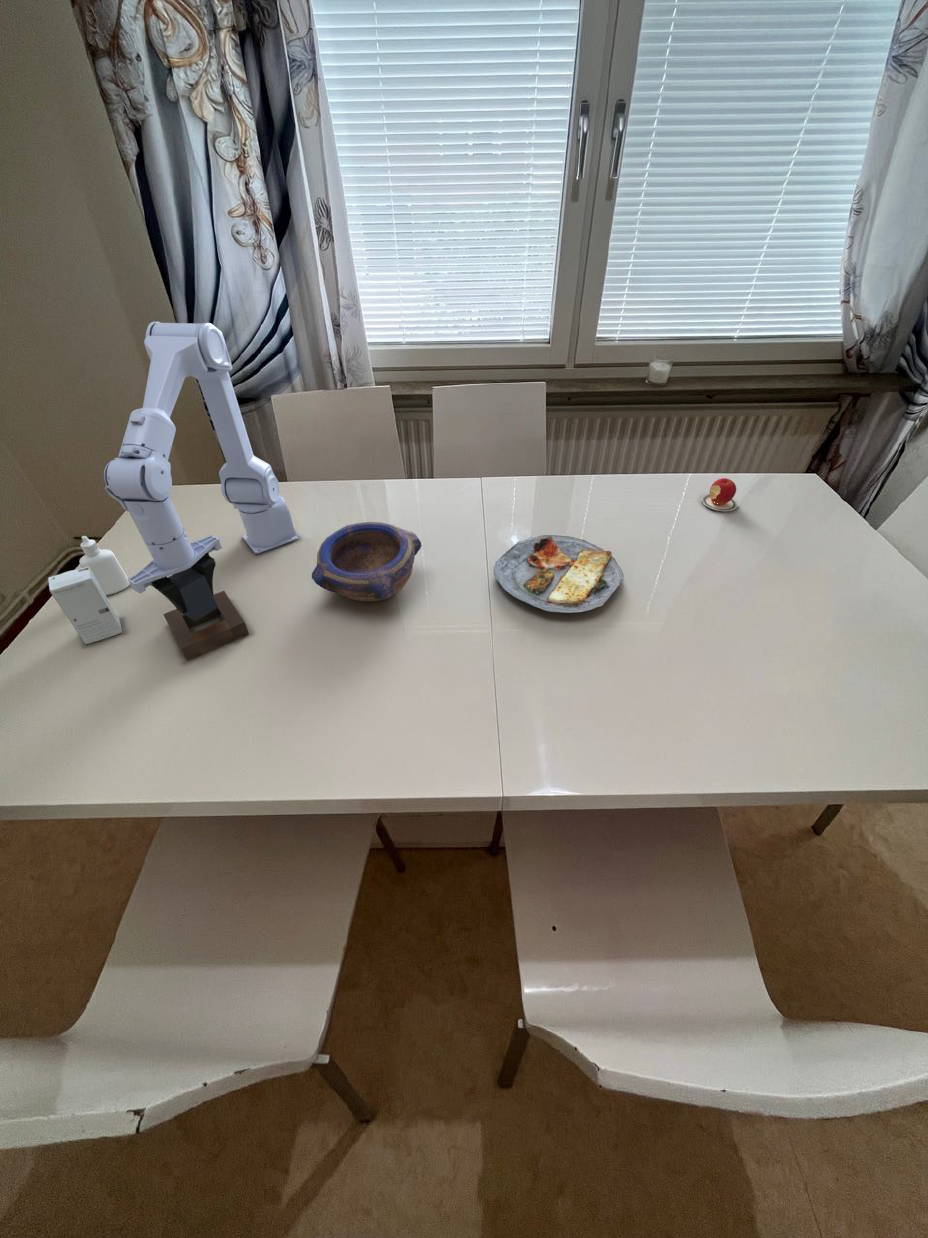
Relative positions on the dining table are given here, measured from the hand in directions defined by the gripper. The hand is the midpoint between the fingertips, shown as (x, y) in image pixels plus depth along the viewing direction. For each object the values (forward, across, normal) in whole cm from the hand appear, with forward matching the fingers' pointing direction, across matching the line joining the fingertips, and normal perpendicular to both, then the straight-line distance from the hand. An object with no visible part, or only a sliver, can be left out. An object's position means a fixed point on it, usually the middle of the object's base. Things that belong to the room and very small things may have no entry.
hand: (196, 602), depth 87 cm
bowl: (+7, -26, +16) cm, 31 cm away
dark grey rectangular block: (+2, 0, 0) cm, 2 cm away
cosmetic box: (+7, +11, -15) cm, 20 cm away
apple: (+7, -96, +63) cm, 115 cm away
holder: (+7, 0, 0) cm, 7 cm away
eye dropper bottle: (+7, +3, -25) cm, 26 cm away
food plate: (+7, -49, +44) cm, 66 cm away
